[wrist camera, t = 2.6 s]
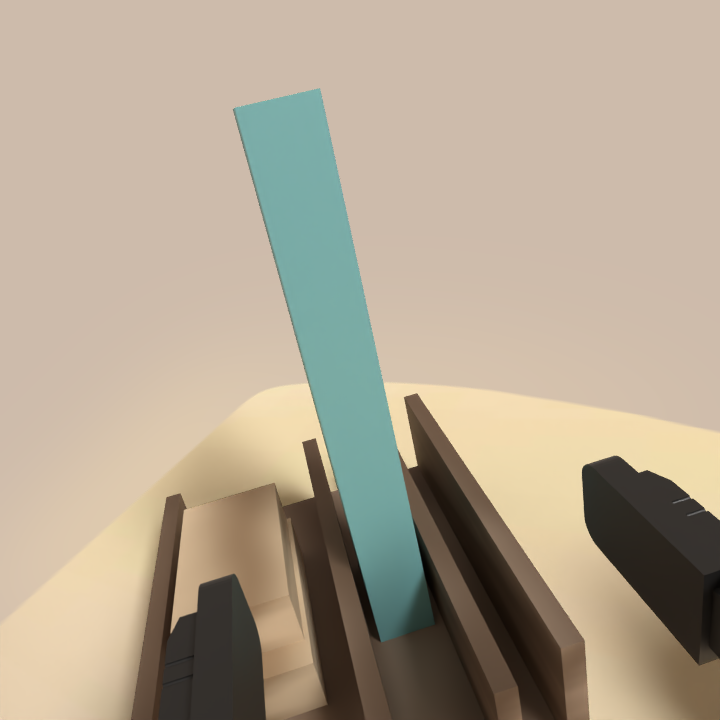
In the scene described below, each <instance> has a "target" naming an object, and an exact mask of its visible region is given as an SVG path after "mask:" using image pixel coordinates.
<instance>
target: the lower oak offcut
mask: <svg viewBox="0 0 720 720" xmlns="http://www.w3.org/2000/svg"><path fill="white" fill-rule="evenodd" d="M287 523H288V530H289V537H290V544H291V551H292V558H293V564H294V571H295V578H296V585H297V592H298V599H299V605H300V612H301V619H302V626H303V633H304V640H301V641H298V642H295V643H292V644H289V645H286V646H283V647H280V648H277V649H274V650H271V651H268V652H265V653H262V662H263V678H264V694H265V711H266V720H284V719H287V718H290V717H293V716H296V715H299V714H302V713H305V712H308V711H311V710H313V709H316V708H319V707H322V706H325V705H328V702H327V696H326V691H325V685H324V679H323V673H322V667H321V661H320V655H319V649H318V643H317V638H316V632H315V626H314V620H313V614H312V608H311V602H310V596H309V590H308V585H307V579H306V573H305V567H304V561H303V555H302V551H301V548H300V545H299V542H298V539H297V536H296V533H295V530H294V527H293V524H292V521H291V518H288V519H287Z"/></svg>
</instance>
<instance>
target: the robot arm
mask: <svg viewBox="0 0 720 720" xmlns="http://www.w3.org/2000/svg"><path fill="white" fill-rule="evenodd" d="M582 482H583V500H584V517H585V523H586V526H587V529H588V531H589V534H590V536H591V538H592V539H593V541H594V543H595V544H596V545H597V546H598V548H599V549H600V550H601V551H602V552H603V554H604V555H605V556H606V557H607V558H608V559H609V561H610V562H611V563H612V564H613V565H614V566H615V568H616V569H617V570H618V571H619V572H620V573H621V575H622V576H623V577H624V578H625V579H626V580H627V582H628V583H629V584H630V585H631V586H632V587H633V589H634V590H635V591H636V592H637V593H638V594H639V596H640V597H641V598H642V599H643V600H644V602H645V603H646V604H647V605H648V606H649V607H650V609H651V610H652V611H653V612H654V613H655V614H656V616H657V617H658V618H659V619H660V620H661V621H662V623H663V624H664V625H665V626H666V627H667V628H668V630H669V631H670V632H671V633H672V634H673V635H674V637H675V638H676V639H677V640H678V641H679V642H680V644H681V645H682V646H683V647H684V648H685V649H686V651H687V652H688V653H689V654H690V655H691V657H692V658H693V659H694V660H695V661H696V662H697V664H698V665H702V664H705V663H707V662H710V661H713V660H716V659H719V658H720V520H718V519H717V518H716V517H715V516H714V515H712V514H711V513H710V512H709V511H707V512H706V511H705V509H704V507H703V506H701V505H700V504H699V503H698V502H697V501H695V500H694V499H691V498H690V496H689V495H688V494H687V493H686V492H685V491H683V490H682V489H681V488H680V487H678V486H677V485H676V484H675V483H674V482H672V481H671V480H669V479H666V478H664V477H662V476H659V475H657V474H655V473H652V472H650V471H648V470H646V471H643V472H640V473H638V472H637V471H636V470H635V469H633V468H632V467H631V466H630V465H629V464H628V463H627V462H625V461H624V460H623V459H622V458H621V457H619V456H612V457H609V458H606V459H603V460H599V461H596V462H593V463H590V464H587V465H584V467H583V469H582ZM162 685H163V689H162V691H161V699H160V708H159V716H158V720H266V711H265V694H264V678H263V662H262V650H261V643H260V638H259V634H258V630H257V626H256V623H255V621H254V618H253V615H252V613H251V610H250V608H249V605H248V603H247V600H246V598H245V595H244V593H243V590H242V588H241V585H240V583H239V580H238V578H237V576H236V575H235V574H231V575H227V576H224V577H221V578H218V579H215V580H211V581H208V582H205V583H202V584H200V585H199V589H198V603H197V612H195V613H191V614H188V615H185V616H182V617H179V619H178V621H177V623H176V625H175V627H174V629H173V631H172V633H171V635H170V637H169V639H168V640H167V647H166V656H165V669H164V673H163V682H162Z"/></svg>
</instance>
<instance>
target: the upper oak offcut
mask: <svg viewBox="0 0 720 720" xmlns="http://www.w3.org/2000/svg"><path fill="white" fill-rule="evenodd" d="M231 574H235V575H236V576H237V578H238V580H239V583H240V585H241V588H242V590H243V593H244V595H245V598H246V600H247V603H248V605H249V608H250V610H251V613H252V615H253V618H254V621H255V623H256V626H257V630H258V634H259V638H260V643H261V650H262V653H265V652H268V651H271V650H274V649H277V648H280V647H283V646H286V645H289V644H292V643H295V642H298V641H301V640H304V633H303V626H302V619H301V612H300V605H299V599H298V592H297V585H296V578H295V571H294V564H293V558H292V551H291V544H290V537H289V530H288V523H287V519H286V516H285V513H284V510H283V507H282V504H281V501H280V498H279V495H278V492H277V489H276V486H275V483H272V484H269V485H266V486H262V487H259V488H256V489H252V490H249V491H246V492H242V493H239V494H236V495H232V496H229V497H225V498H222V499H219V500H215V501H212V502H209V503H205V504H202V505H199V506H195V507H192V508H189V509H185V510H184V514H183V523H182V532H181V541H180V550H179V559H178V568H177V577H176V586H175V595H174V605H173V614H172V623H171V632H170V633H172V631H173V629H174V627H175V625H176V623H177V621H178V619H179V617H182V616H185V615H188V614H191V613H195V612H197V603H198V589H199V585H200V584H202V583H205V582H208V581H211V580H215V579H218V578H221V577H224V576H227V575H231Z"/></svg>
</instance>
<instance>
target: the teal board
mask: <svg viewBox="0 0 720 720" xmlns="http://www.w3.org/2000/svg"><path fill="white" fill-rule="evenodd" d="M233 111H234V115H235V119H236V122H237V126H238V129H239V133H240V136H241V140H242V144H243V148H244V151H245V155H246V158H247V162H248V165H249V169H250V173H251V176H252V180H253V184H254V187H255V191H256V195H257V198H258V202H259V206H260V209H261V213H262V216H263V220H264V224H265V227H266V231H267V234H268V238H269V242H270V245H271V249H272V253H273V256H274V260H275V263H276V267H277V271H278V274H279V278H280V281H281V285H282V289H283V292H284V296H285V299H286V303H287V307H288V311H289V314H290V318H291V321H292V325H293V329H294V332H295V336H296V340H297V343H298V347H299V350H300V353H301V357H302V361H303V365H304V369H305V372H306V376H307V379H308V383H309V387H310V390H311V394H312V398H313V401H314V405H315V408H316V412H317V416H318V419H319V423H320V427H321V430H322V434H323V437H324V441H325V445H326V448H327V452H328V456H329V459H330V463H331V466H332V470H333V474H334V477H335V481H336V485H337V488H338V492H339V495H340V499H341V503H342V506H343V510H344V514H345V517H346V521H347V524H348V528H349V532H350V535H351V539H352V542H353V546H354V550H355V553H356V557H357V561H358V564H359V568H360V571H361V575H362V578H363V581H364V585H365V588H366V592H367V595H368V599H369V602H370V605H371V609H372V612H373V616H374V619H375V623H376V626H377V630H378V633H379V636H380V640H381V642H384V641H387V640H390V639H393V638H396V637H399V636H402V635H405V634H408V633H411V632H414V631H417V630H420V629H423V628H426V627H429V626H432V625H435V622H434V617H433V612H432V608H431V603H430V598H429V594H428V589H427V584H426V580H425V575H424V570H423V566H422V561H421V556H420V552H419V547H418V542H417V538H416V533H415V529H414V524H413V519H412V515H411V510H410V505H409V501H408V496H407V491H406V487H405V482H404V477H403V473H402V468H401V463H400V459H399V454H398V449H397V445H396V440H395V435H394V431H393V426H392V421H391V417H390V412H389V407H388V403H387V398H386V393H385V389H384V384H383V379H382V375H381V370H380V366H379V361H378V356H377V352H376V347H375V342H374V338H373V333H372V328H371V324H370V319H369V314H368V310H367V305H366V300H365V296H364V291H363V286H362V282H361V277H360V272H359V268H358V263H357V259H356V254H355V249H354V244H353V240H352V235H351V230H350V226H349V221H348V216H347V212H346V207H345V203H344V198H343V193H342V189H341V184H340V179H339V175H338V170H337V165H336V161H335V156H334V151H333V147H332V142H331V137H330V133H329V128H328V124H327V119H326V114H325V109H324V105H323V100H322V96H321V91H320V89H315V90H311V91H306V92H302V93H297V94H293V95H289V96H284V97H280V98H276V99H271V100H267V101H263V102H258V103H254V104H250V105H245V106H241V107H236V108H234V109H233Z"/></svg>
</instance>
